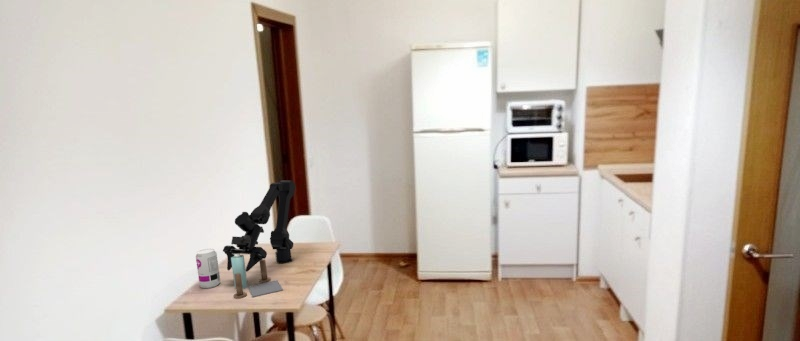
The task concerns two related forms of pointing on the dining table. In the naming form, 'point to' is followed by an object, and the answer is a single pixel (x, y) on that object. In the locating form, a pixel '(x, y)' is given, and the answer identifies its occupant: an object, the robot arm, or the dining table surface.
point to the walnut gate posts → (239, 281)
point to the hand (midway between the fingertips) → (237, 270)
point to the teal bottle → (239, 268)
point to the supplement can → (207, 268)
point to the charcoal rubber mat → (265, 288)
